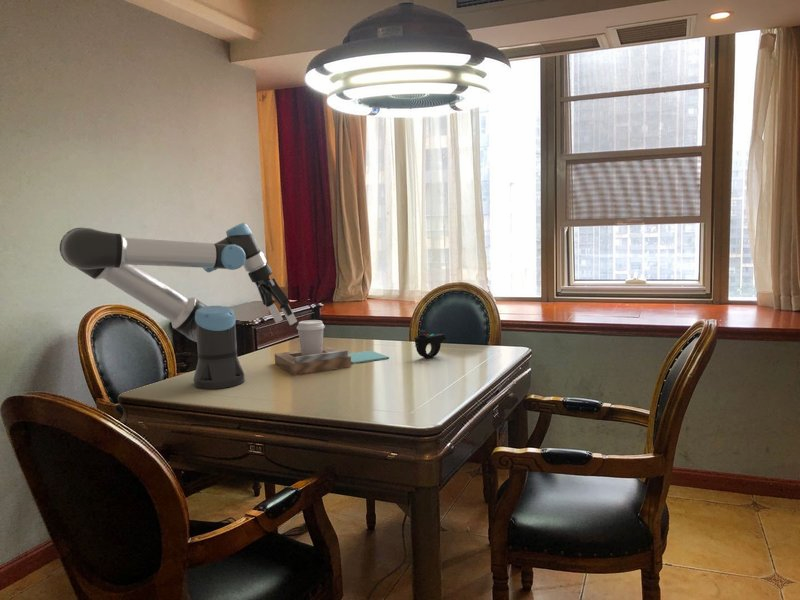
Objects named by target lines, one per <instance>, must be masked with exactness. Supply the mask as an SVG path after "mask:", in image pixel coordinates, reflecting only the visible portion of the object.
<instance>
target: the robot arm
mask: <svg viewBox="0 0 800 600" xmlns="http://www.w3.org/2000/svg"><path fill="white" fill-rule="evenodd" d="M225 235H226V237H224V238H223V239H222V240H220V241H218V242H216V243H211V242H198V241H197V242H194V241H181V240H163V239H151V238H135V237H125V236H124V235H123V234H122V233H116V232H115V233H113V232H107V231H102V230H98V229H93V228H90V227H75V228H72V229H70V230H68V231H67V232H66V233H65V234H64V235H63V236H62V238H61V240H60V242H59V249H58V250H59V253H60V256H61V258H62V259H63V261H64V262H65V263H67V264H68V265H69V266H71V267H74V268H75V269H77V270H79V271H80V272H82V273H84V274H85V275H87V276H88V277H91V278H92V279H93V280H101V279H103V280H105V281H107V282H108V283H110V284H111V285H113V286H114V287H116V288H117V289H120V290H121V291H122V292H124V293H126V294H128V295H129V296H130V297H132V298H133V299H135V300H136V301H139V302H140V303H142V304H143V305H145V306H146V307H148V308H150V309H151V310H153V311H155V313H158V314H159V315H161V316H163V317H164V318H166V319H167V320H169V321H170V322H171V327H172V328H173V329H174V330H175V331H177V332H179V334H182V335H184V336H185V337H186V338H187V339H189V340H190V341H193V342H196V345H197V359H198V360H197V363H196V368H195V372H194V375H193V387H195V388H197V389H202V390H217V389H225V388H231V387H235V386H239V385H241V384H243V383H244V382H245V372H244V370H243V367H242V365H241V363H240V360H239V358H238V346H237V344H238V343H237V329H236V328H237V327H236V326H237V325H236V321H237V319H236V317H235V316H236V315H235V312H234V310H233V308H230V307H228V306H222V305H206V304H205V303H203V302H202V301H200V300H199V299H198V298H195V297H189V298H187V297H186V296H184V295H182V294H181V293H179V292H178V291H177V290H175V289H173V288H172V287H170V286H169V285H167V283H164V282H163V281H161V280H160V279H158V278H156V277H155V276H154V275H152V274H151V273H149V272H147V271H146V270H144V269H143V268H141V267H140V266H154V267H178V268H200V269H201V268H202V269H203V270H204V271H205V272H206V273H211V272H214V271H217V270H219V269H220V270H221V269H222V270H230V271H234V270H238V269H240V268H242V267H243V268H244V269H245V272H248V277H249V278H250V281H251V283H255V285H256V288H257V291H258V293H259V295H260V298H261V301H262V304H263V305H264V306H265V307H267V309H268V311H269V312H270V315H271V316H272V318H273V320H274V322H275V324H278V323H280V322H281V321H283V320H284V318H283V316H282V314H281V312H280V311H279V309H280V310H282V313H283V315H284V316H285V318H286V321H287V322H288V324H289V326H292V325H294V324H295V323H297V322H298V320H297V318H296V316H295V314H294V312H293V309H292V308H291V306H290V304H291V301H290V300H289V298H288V296H286V294H285V293H284V291H283V290H282V289H281V287H280V286H279V284H278V283H277V281H276V279H275V278H272V279H271V278H270V276H271V275H272V274H273V270H272V268H271V266H270V264H269V263H267V259H266V258H265V257H266V255H265V253H264V252H263V251H262V249H261V248H260V246H259V243H258V242H257V240H256V237H255V235H254V233H253V232H252V231H251V229H250V227H249V226H248V224H247V223H245V222H241V223H239V224H236V225H235V226H232V227H230V228H229V229H227V230H226V231H225ZM276 302H277V304H279V309H278V307H277V305H276Z"/></svg>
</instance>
